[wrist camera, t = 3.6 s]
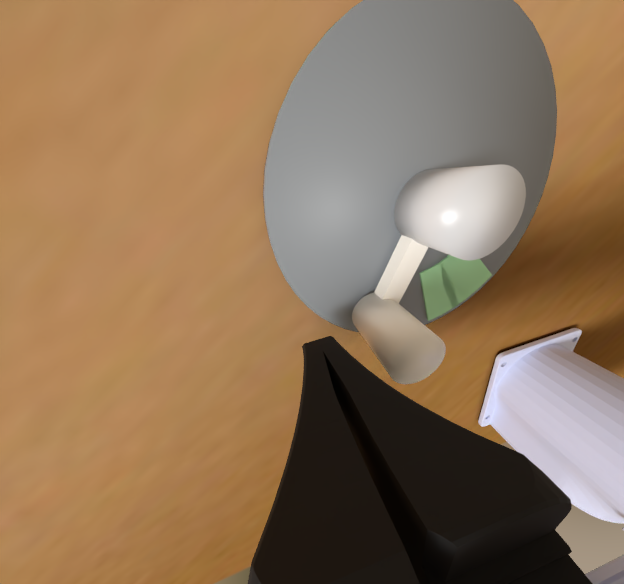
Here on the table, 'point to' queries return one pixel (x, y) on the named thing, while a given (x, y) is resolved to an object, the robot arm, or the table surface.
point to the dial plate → (402, 143)
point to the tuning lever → (442, 237)
